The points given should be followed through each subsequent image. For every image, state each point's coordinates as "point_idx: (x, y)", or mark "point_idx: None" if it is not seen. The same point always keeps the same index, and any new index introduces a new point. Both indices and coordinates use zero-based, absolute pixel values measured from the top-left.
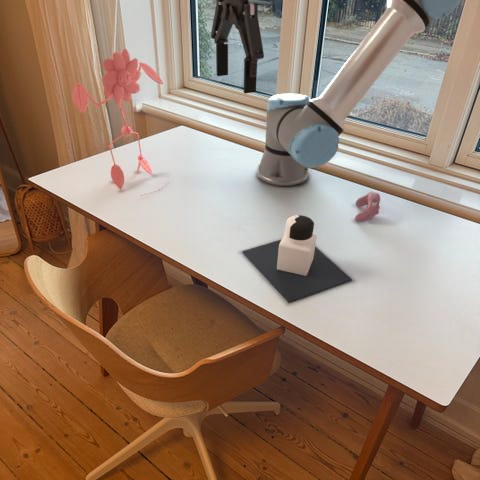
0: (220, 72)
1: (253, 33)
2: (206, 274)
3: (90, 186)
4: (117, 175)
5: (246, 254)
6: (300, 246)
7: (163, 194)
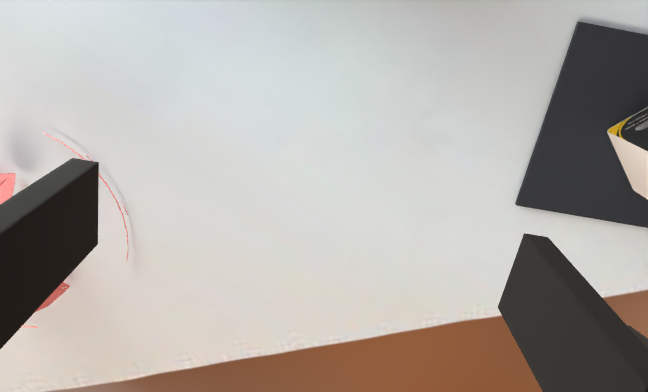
0: (86, 235)
1: None
2: None
3: None
4: None
5: (534, 206)
6: None
7: (145, 205)
